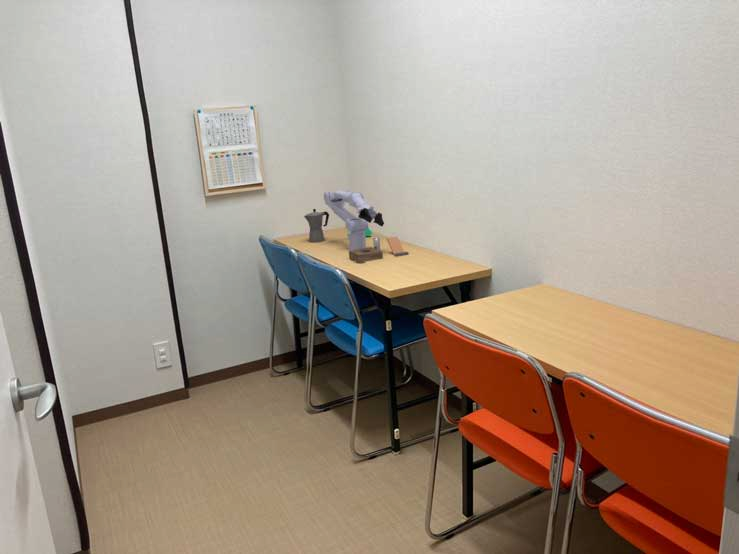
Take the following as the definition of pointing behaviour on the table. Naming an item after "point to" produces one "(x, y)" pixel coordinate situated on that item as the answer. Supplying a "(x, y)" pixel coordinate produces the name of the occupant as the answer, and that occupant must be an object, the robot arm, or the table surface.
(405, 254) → the latch bracket
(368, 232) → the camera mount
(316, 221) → the coffeepot
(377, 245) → the steel peg
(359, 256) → the hitch block
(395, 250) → the latch flap
